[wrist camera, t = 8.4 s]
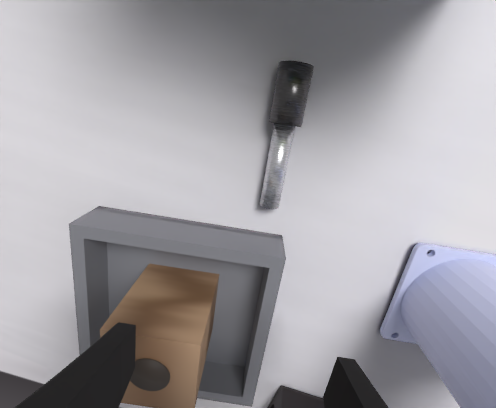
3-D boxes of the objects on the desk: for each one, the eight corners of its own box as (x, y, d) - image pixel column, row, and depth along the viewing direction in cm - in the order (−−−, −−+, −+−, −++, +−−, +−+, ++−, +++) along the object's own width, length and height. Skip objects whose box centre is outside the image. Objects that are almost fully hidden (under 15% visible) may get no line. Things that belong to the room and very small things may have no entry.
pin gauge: (278, 64, 15) (280, 58, 13) (310, 70, 15) (316, 64, 13) (255, 200, 17) (254, 209, 16) (282, 204, 17) (284, 214, 16)
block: (219, 274, 19) (200, 346, 13) (212, 329, 20) (192, 415, 14) (149, 263, 19) (98, 331, 13) (147, 319, 20) (102, 401, 14)
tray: (281, 235, 18) (285, 258, 15) (252, 368, 22) (251, 406, 19) (99, 206, 18) (68, 223, 15) (104, 345, 22) (81, 379, 19)
